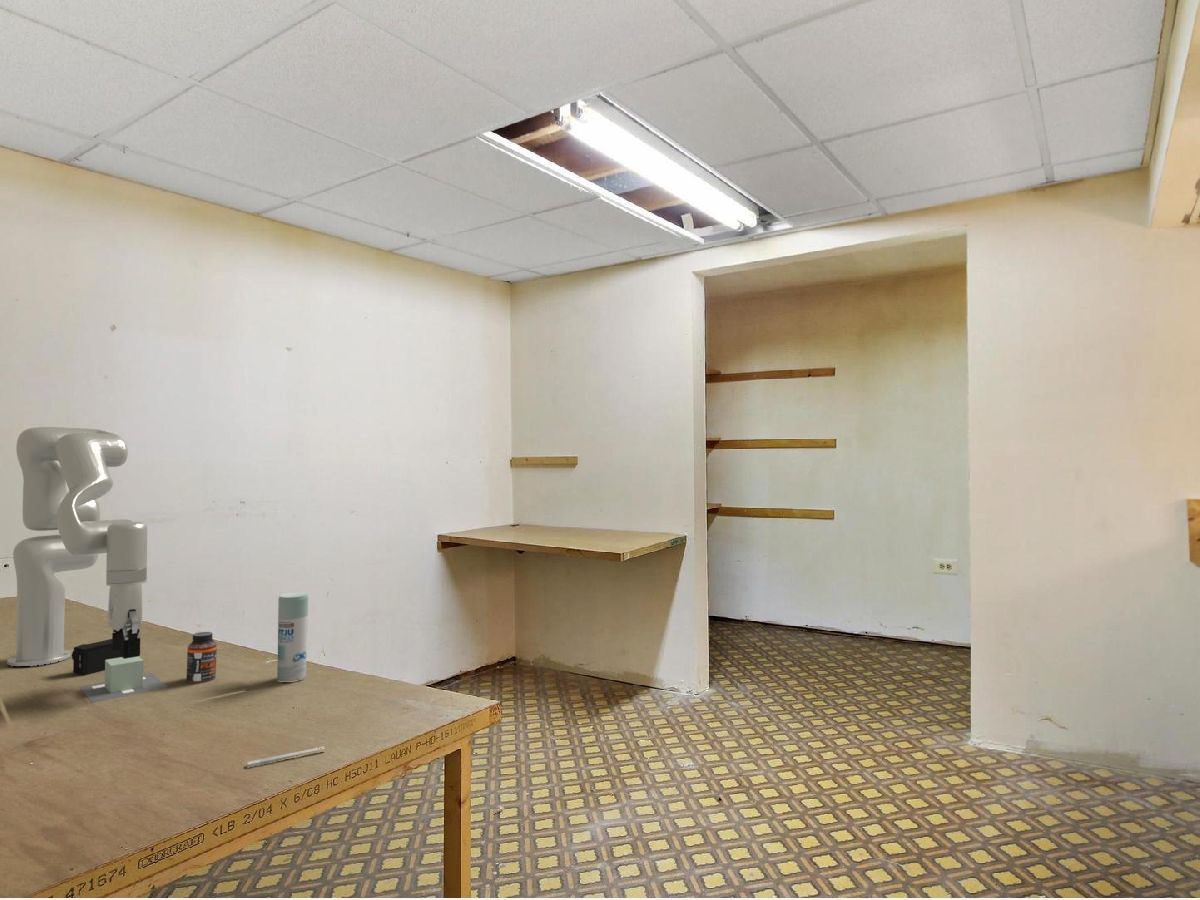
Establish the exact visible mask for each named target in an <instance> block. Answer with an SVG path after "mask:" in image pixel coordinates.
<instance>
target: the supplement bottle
mask: <svg viewBox="0 0 1200 900" xmlns="http://www.w3.org/2000/svg"><path fill="white" fill-rule="evenodd" d="M217 646H218V644H217V642H216V641H215V640H213V632H212V631H200V632H199V631H198V632H195V633H193V634H192V641H191V642H190V644H188V646H187V652H186V653H187V654H186V655H187V658H186V683H187V684H204V683H208V682H211V681H214V680H215V679H216V675H217V652H218V651H217V649H218V647H217Z"/></svg>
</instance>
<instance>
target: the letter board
mask: <svg viewBox="0 0 1200 900" xmlns="http://www.w3.org/2000/svg"><path fill="white" fill-rule="evenodd" d="M78 687H79V689H80V690H81V691H82V692H83V694H84V695H85V696H86V697H87V698H88V700H89V701H90V702H91V703H97V702H102V701H107V700H112V699H119V698H122V697H126V696H131V695H137V694H142V693H147V692H151V691H157V690H162V689H167V688H169V686H167V685H166V684H165V683H164V682H163V681H161V680H160V679H159V678H158V677H157V676H156V675H154V673H152V672H149V673H145V674H144V673H143V687H140V688H135V689H130V690H125V691H120V692H115V693H110V692H109V691H108V690H107V689H106V688H105V681H103V682H96V683H91V684H85V685H80V686H78Z"/></svg>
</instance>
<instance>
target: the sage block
mask: <svg viewBox="0 0 1200 900" xmlns="http://www.w3.org/2000/svg"><path fill="white" fill-rule="evenodd" d="M143 675H144V659H142V657H141V656H138V657H132V658H126V659H124V658H123V657H120V658H114V659H108V660H105V670H104V682H105V688H106V689H107V690H108V691H109V692H110V693H115V692H120V691H125V690H130V689H135V688H140V687H143Z"/></svg>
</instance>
